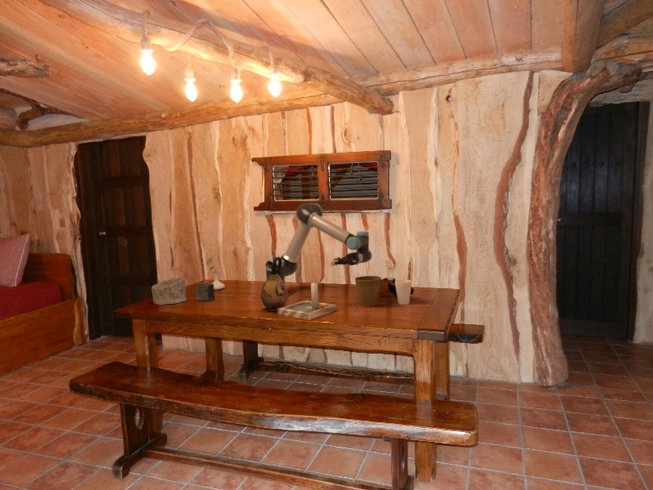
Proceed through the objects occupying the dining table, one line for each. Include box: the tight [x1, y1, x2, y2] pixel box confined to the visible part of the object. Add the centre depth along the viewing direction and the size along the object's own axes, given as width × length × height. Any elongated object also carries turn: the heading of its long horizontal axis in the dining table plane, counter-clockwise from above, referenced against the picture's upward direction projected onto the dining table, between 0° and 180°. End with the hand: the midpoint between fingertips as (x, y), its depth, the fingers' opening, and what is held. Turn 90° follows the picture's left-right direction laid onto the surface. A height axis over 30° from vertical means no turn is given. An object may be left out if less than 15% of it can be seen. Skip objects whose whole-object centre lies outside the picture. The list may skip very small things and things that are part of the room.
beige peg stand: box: [293, 282, 319, 313], centre depth 246 cm, size 16×16×16 cm
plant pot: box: [354, 275, 382, 308], centre depth 256 cm, size 15×15×16 cm
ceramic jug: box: [260, 256, 289, 312], centre depth 256 cm, size 17×15×30 cm
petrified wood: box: [150, 277, 187, 306], centre depth 283 cm, size 19×17×15 cm
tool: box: [378, 277, 415, 299], centre depth 273 cm, size 8×23×15 cm, turn 52°
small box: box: [194, 282, 215, 302], centre depth 285 cm, size 11×6×10 cm, turn 65°
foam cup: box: [395, 279, 413, 305], centre depth 258 cm, size 10×9×13 cm
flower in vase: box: [205, 255, 226, 291], centre depth 317 cm, size 13×11×25 cm
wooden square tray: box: [277, 299, 337, 321], centre depth 246 cm, size 23×23×5 cm
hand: (330, 263), depth 251 cm, fingers closed
